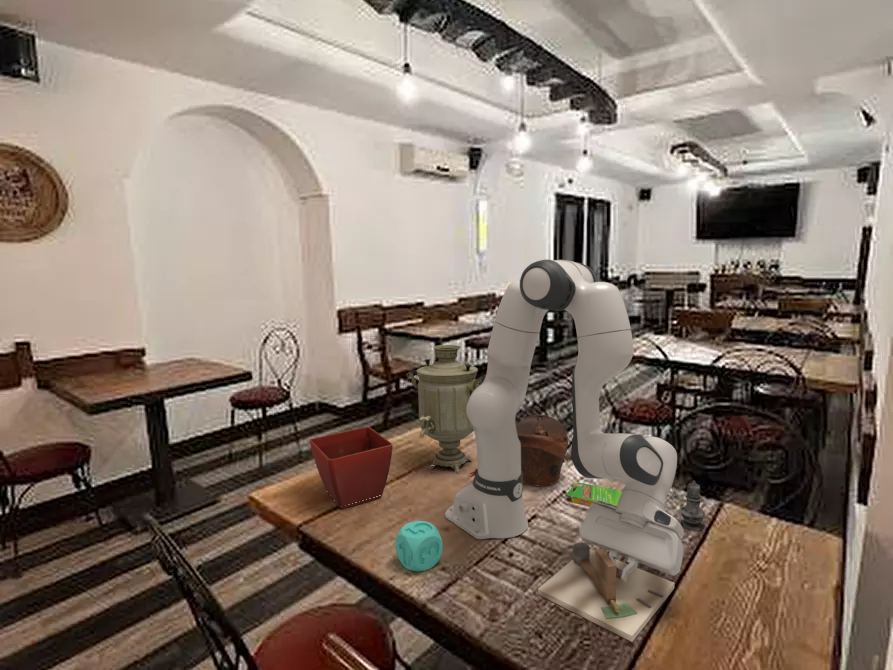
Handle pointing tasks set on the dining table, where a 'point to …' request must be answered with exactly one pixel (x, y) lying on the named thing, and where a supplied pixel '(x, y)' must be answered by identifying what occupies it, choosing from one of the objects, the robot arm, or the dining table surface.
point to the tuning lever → (598, 571)
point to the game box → (593, 494)
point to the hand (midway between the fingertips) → (616, 578)
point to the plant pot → (353, 465)
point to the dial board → (585, 600)
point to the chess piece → (692, 509)
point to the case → (541, 449)
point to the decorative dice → (418, 545)
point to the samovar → (446, 403)
